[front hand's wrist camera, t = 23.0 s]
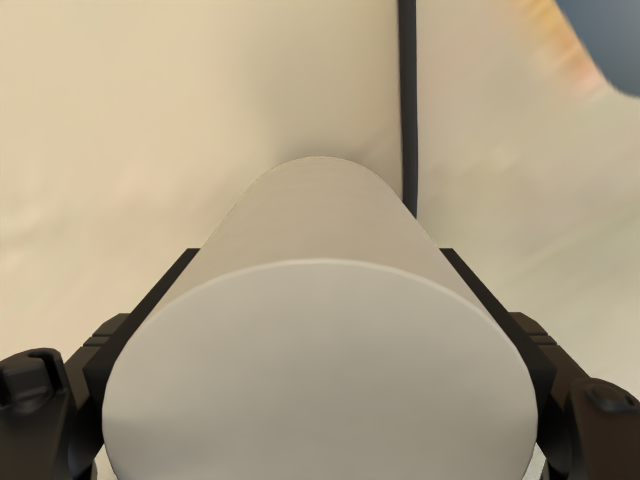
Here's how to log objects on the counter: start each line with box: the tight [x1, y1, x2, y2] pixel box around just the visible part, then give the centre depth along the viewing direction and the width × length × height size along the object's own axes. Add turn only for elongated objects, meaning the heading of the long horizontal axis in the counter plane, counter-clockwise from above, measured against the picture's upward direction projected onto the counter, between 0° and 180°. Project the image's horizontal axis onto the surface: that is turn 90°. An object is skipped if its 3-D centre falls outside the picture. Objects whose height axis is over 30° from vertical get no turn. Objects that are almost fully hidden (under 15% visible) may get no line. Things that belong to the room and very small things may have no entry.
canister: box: [102, 156, 538, 480], centre depth 12 cm, size 8×8×11 cm
